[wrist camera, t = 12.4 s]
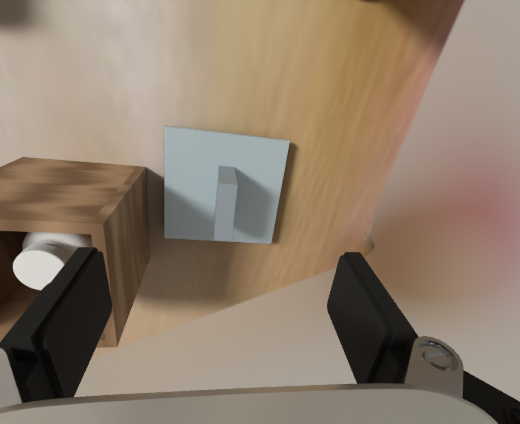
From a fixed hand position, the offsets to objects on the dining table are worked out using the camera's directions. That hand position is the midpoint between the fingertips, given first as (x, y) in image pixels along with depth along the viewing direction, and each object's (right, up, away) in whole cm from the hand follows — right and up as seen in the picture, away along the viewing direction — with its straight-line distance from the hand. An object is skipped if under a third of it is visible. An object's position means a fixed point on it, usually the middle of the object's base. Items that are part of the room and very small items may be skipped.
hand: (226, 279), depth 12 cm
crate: (-21, +3, +27) cm, 34 cm away
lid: (-4, +6, +28) cm, 29 cm away
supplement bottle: (-21, +3, +27) cm, 35 cm away
